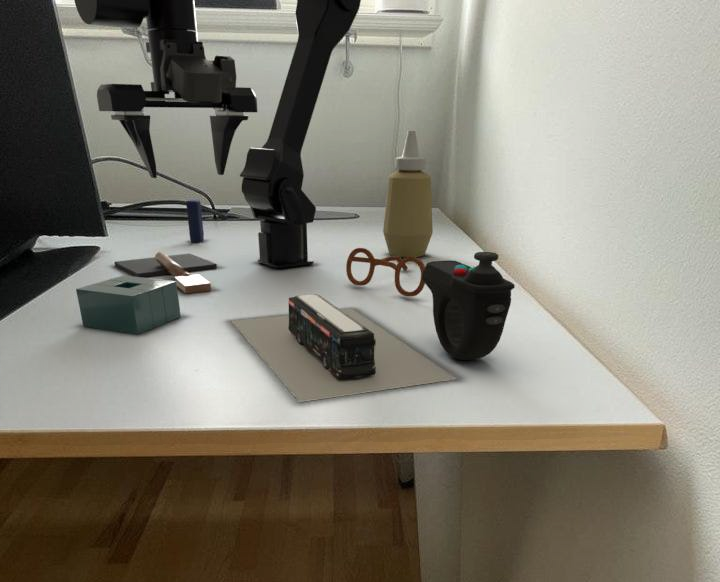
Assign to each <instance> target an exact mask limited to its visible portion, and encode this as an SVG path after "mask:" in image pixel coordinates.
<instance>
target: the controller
mask: <svg viewBox="0 0 720 582" xmlns="http://www.w3.org/2000/svg"><path fill="white" fill-rule="evenodd" d="M473 258H474V260H476V261H478V265H476V266H470V265H467V264H465V263H462V262H459V261H456V260H436V261H435V260H433V261H428V262H427V263H426V265H425V269H424V271H423V274H422V279H423V281H424V283H425V286H427V288H428V289H429V290H430V292H431V295H432V315H433V323H434V328H435V332H436V336H437V338H438V340H439V343H440V345H441V347H442V348H443V350H444V352H446V353H447V354H448V355H449V356H450V357H452V358H454V359H456V360H460V361H461V360H462V361H469V360H476V359H477V360H478V359H481V358H484V357H486V356H488V355H490V354H491V353H492V352H493V351H494V350H495V349H496V347H497V346H498V344H499V342H500V341H501V337H502V335H503V332H504V328H505V324H506V320H507V316H508V313H509V310H510V307H511V303H512V290H514V289H515V288H516V285H515V284H514V283H513V282H511V281H510V280H508V279H506V278H504V277H503V275H502V274H501V272H500V271H499V270H497V268H496V267H495V266H493V262H496V261H497V260H499V254H498V253H496V252H492V251H477V252H475V253H474V255H473Z"/></svg>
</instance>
